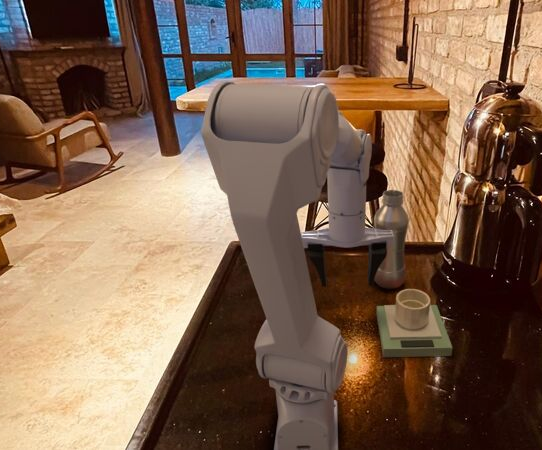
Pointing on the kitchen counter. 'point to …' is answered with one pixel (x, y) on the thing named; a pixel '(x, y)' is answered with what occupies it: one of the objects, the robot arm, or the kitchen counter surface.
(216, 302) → the kitchen counter surface
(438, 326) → the scale
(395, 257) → the metal water bottle
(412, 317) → the dip bowl
